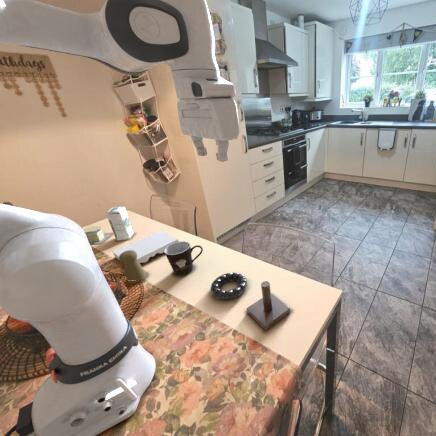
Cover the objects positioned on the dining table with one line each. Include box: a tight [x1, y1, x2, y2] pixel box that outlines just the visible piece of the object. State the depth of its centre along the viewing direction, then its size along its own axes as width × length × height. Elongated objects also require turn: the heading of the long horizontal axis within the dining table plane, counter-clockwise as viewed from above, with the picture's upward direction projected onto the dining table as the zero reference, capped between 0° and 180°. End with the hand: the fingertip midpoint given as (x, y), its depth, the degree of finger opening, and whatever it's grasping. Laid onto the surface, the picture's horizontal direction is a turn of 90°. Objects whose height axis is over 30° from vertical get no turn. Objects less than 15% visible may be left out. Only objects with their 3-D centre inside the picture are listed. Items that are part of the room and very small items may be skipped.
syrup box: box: [105, 206, 135, 241], centre depth 112 cm, size 6×6×14 cm
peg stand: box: [246, 280, 291, 331], centre depth 69 cm, size 9×9×10 cm
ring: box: [210, 271, 248, 301], centre depth 80 cm, size 12×12×3 cm
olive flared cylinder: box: [118, 250, 147, 285], centre depth 85 cm, size 6×6×11 cm
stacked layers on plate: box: [83, 225, 112, 245], centre depth 113 cm, size 10×9×6 cm
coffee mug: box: [163, 240, 204, 277], centre depth 88 cm, size 12×9×10 cm
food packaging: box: [112, 230, 179, 264], centre depth 102 cm, size 15×3×20 cm
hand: (212, 158), depth 55 cm, fingers open, 8 cm apart
